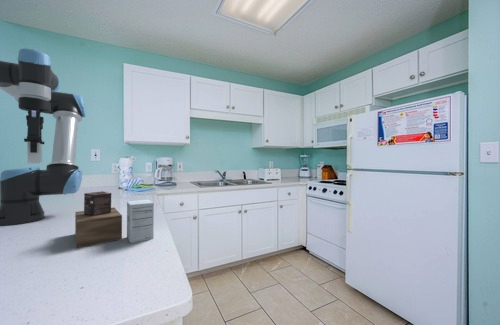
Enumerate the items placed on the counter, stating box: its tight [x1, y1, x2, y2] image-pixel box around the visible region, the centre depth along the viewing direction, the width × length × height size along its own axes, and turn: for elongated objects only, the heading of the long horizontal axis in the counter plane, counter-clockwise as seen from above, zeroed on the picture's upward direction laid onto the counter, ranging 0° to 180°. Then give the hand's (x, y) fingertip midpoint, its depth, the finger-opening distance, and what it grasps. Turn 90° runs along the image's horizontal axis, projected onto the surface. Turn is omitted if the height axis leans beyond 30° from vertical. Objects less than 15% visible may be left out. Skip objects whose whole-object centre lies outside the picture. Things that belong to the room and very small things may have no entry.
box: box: [83, 191, 112, 216], centre depth 74 cm, size 6×6×7 cm
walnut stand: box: [74, 207, 123, 249], centre depth 74 cm, size 16×12×8 cm
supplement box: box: [126, 199, 155, 244], centre depth 73 cm, size 7×7×13 cm
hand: (35, 162), depth 70 cm, fingers open, 13 cm apart
